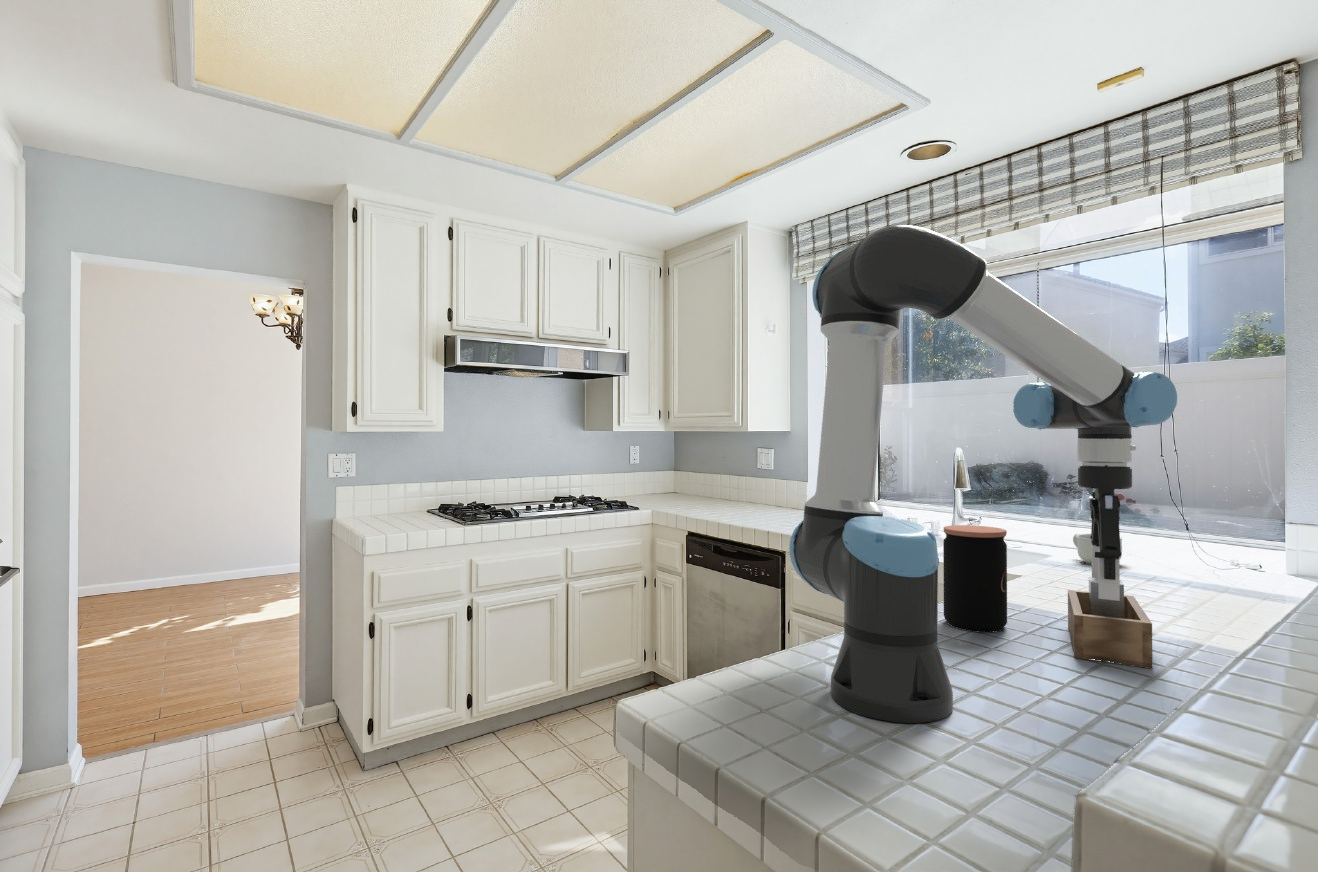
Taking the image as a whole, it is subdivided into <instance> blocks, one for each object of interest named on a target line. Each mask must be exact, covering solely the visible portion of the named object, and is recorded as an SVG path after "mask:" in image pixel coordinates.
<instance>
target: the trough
mask: <svg viewBox="0 0 1318 872" xmlns="http://www.w3.org/2000/svg"><path fill="white" fill-rule="evenodd" d="M1067 627H1068V628H1067V629H1068V632H1069V634H1068V635H1069V637H1070V643H1071V647H1072V652H1073V653H1074V654H1073V657H1074V659H1078V658H1082V659H1081V660H1085V659H1095V660H1101V661H1110V662H1114V663H1121V664H1125V665H1124V666H1128V665H1134V666H1133V667H1135V666H1140V667H1139V668H1142V667H1148V668H1147V669H1150V668H1152V669H1153V622H1152V621H1151V620H1150V618H1149V617H1148V615H1147V614H1146V612H1145V611H1144V609H1143V608H1142V606H1141V605H1140V603H1139V602H1138V601H1137V600H1136V597H1135V596H1134V595H1129V594H1127V595H1126V594H1124V619H1123V618H1114V617H1105V616H1095V615H1089V591H1085V590H1077V589H1076V590H1074V589H1067ZM1114 663H1113V664H1114ZM1121 664H1120V665H1121Z"/></svg>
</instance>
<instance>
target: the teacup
mask: <svg viewBox="0 0 1318 872" xmlns="http://www.w3.org/2000/svg"><path fill="white" fill-rule="evenodd" d="M1090 536H1091V533H1076V534H1074V535H1073V537H1072V542H1073V545H1074V546H1075V547H1076V550H1077V554H1078V557H1079V558H1080V559H1081V560H1082V561H1083V562H1085V563H1086V564H1088V565H1092V546H1095V545H1092V543H1091V541H1092V540H1091V538H1090ZM1122 540H1123V537H1121V536H1120V549H1121V552H1122V553H1123V544H1122ZM1122 555H1123V554H1122ZM1122 555H1121V557H1119V559H1120V560H1121V558H1122Z"/></svg>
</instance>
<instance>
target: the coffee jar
mask: <svg viewBox="0 0 1318 872" xmlns="http://www.w3.org/2000/svg"><path fill="white" fill-rule="evenodd" d="M1007 532H1008V531H1007V530H1006V529H1004V528H999V527H994V526H985V525H984V526H983V525H971V524H969V525H966V524H963V525H961V524H960V525H959V524H957V525H956V524H955V525H954V524H953V525H945V526H943V533H944V534H945V538H944V539H943V540H942V541H943V548H942V549H943V550H942V551H943V552H942V553H943V556H942V557H943V617H944V619H945V621H946V623H947V624H948V623H949V624H950V625H949V624H948V625H949V626H951V625H952V626H951V627H953V626H954V628H955V627H958V628H961V629H960V630H962V629H966V630H965V631H967V630H970V631H969V632H973V631H979V632H978V633H996V632H995V631H998V632H1001V631H1003V629H1004V628H1005V626H1006V625H1007V624H1008V544H1007V543H1006V541H1005V537H1006V536H1007ZM958 628H957V629H958ZM1000 630H1001V631H1000ZM993 631H994V632H993Z"/></svg>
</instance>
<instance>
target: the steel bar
mask: <svg viewBox="0 0 1318 872" xmlns="http://www.w3.org/2000/svg"><path fill="white" fill-rule="evenodd" d="M1088 592H1089V615H1095V616H1105V617H1114V618H1123V619H1124V595H1125V585H1124V583H1123V581H1122V580H1121V579H1120V601H1116V600H1107V599H1099V582H1098V578H1092V576H1090V577H1088Z"/></svg>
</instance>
